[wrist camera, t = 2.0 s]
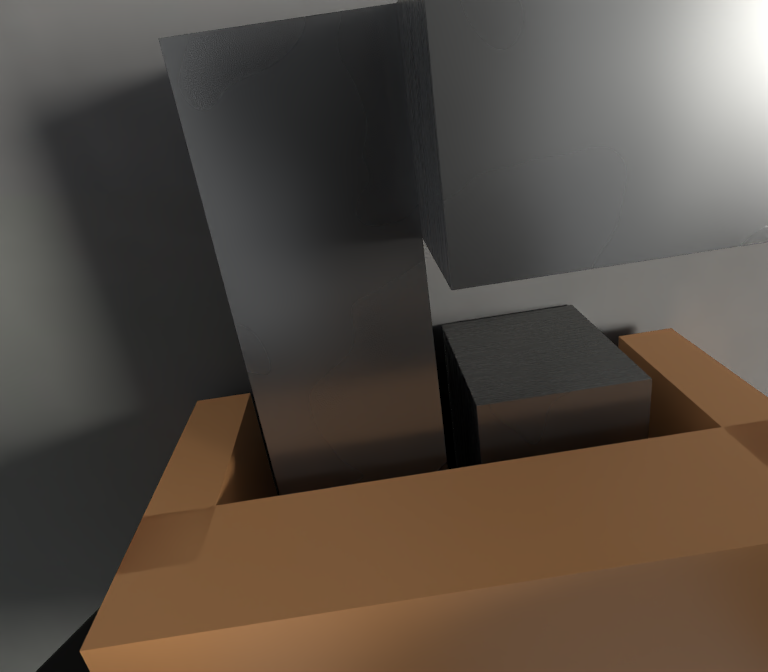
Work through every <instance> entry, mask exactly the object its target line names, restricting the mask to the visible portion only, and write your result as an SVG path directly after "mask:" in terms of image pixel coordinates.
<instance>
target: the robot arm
mask: <svg viewBox="0 0 768 672" xmlns="http://www.w3.org/2000/svg"><path fill="white" fill-rule="evenodd" d="M99 609H100V608H99ZM99 609H98V610H97V611H96V612H95V613H94V614H93V615H92V616H91V617H90V618H89V619H88V620H87V621H86V622H85V623H84V624H83V625H82V626H81V627H80V628H79V629H78V630H77V631H76V632H75V633H74V634H73V635H72V636H71V637H70V638H69V639H68V640H67V641H66V642H65V643H64V644H63V645H62V646H61V647H60V648H59V649H58V650H57V651H56V652H55V653H54V654H53V655H52V656H51V657H50V658H49V659H48V660H47V661H46V662H45V663H44V664H43V665H42V666H41V667H40V668H39V669H38V670H37V671H36V672H90V671H89V669H88V667H87V665H86V663H85V661H84V659H83V657H82V655H81V653H80V649H81V647H82V645H83V643H84V641H85V638H86V636H87V634H88V632H89V630H90V628H91V626H92V624H93V621H94V619H95V617H96V615H97V613H98V611H99Z"/></svg>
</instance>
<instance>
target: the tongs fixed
mask: <svg viewBox="0 0 768 672" xmlns="http://www.w3.org/2000/svg"><path fill="white" fill-rule="evenodd" d="M442 331H443V341H444V351H445V360H446V370H447V380H448V390H449V399H450V409H451V419H452V429H453V438H454V448H455V458H456V468H461V467H468V466H474V465H481V464H487V463H493V462H500V461H506V460H513V459H519V458H526V457H532V456H539V455H545V454H552V453H558V452H564V451H571V450H577V449H584V448H590V447H597V446H603V445H610V444H616V443H622V442H629V441H635V440H642V439H648V434H649V419H650V404H651V389H652V378H651V377H649V376H648V375H647V374H646V373H645V372H644V371H643V370H642V369H641V368H640V367H639V366H638V365H636V364H635V363H634V362H633V361H632V360H631V359H630V358H629V357H628V356H627V355H626V354H625V353H623V352H622V351H621V350H620V349H619V348H618V347H617V346H616V345H615V344H614V343H613V342H612V341H610V340H609V339H608V338H607V337H606V336H605V335H604V334H603V333H602V332H601V331H600V330H599V329H597V328H596V327H595V326H594V325H593V324H592V323H591V322H590V321H589V320H588V319H587V318H586V317H584V316H583V315H582V314H581V313H580V312H579V311H578V310H577V309H576V308H575V307H574V306H573V305H569V306H562V307H556V308H549V309H543V310H536V311H530V312H523V313H516V314H510V315H503V316H497V317H490V318H484V319H477V320H471V321H464V322H458V323H451V324H445V325H442Z"/></svg>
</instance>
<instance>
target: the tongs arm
mask: <svg viewBox="0 0 768 672" xmlns="http://www.w3.org/2000/svg"><path fill="white" fill-rule="evenodd" d="M158 39H159V42H160V46H161V50H162V54H163V57H164V61H165V65H166V69H167V72H168V76H169V80H170V84H171V87H172V91H173V95H174V99H175V102H176V106H177V110H178V114H179V117H180V121H181V125H182V129H183V133H184V136H185V140H186V144H187V148H188V151H189V155H190V159H191V163H192V166H193V170H194V174H195V178H196V181H197V185H198V189H199V193H200V196H201V200H202V204H203V208H204V211H205V215H206V219H207V223H208V226H209V230H210V234H211V238H212V242H213V245H214V249H215V253H216V257H217V260H218V264H219V268H220V272H221V275H222V279H223V283H224V287H225V290H226V294H227V298H228V302H229V305H230V309H231V313H232V317H233V320H234V324H235V328H236V332H237V335H238V339H239V343H240V347H241V351H242V354H243V358H244V362H245V366H246V369H247V373H248V377H249V381H250V384H251V388H252V392H253V396H254V399H255V403H256V407H257V411H258V414H259V418H260V422H261V426H262V429H263V433H264V437H265V441H266V444H267V448H268V452H269V456H270V460H271V463H272V467H273V471H274V475H275V478H276V482H277V486H278V490H279V493H280V496H281V495H287V494H293V493H300V492H306V491H313V490H319V489H326V488H332V487H339V486H345V485H352V484H358V483H364V482H371V481H377V480H384V479H390V478H397V477H403V476H410V475H416V474H423V473H429V472H435V471H442V470H448V466H447V457H446V448H445V439H444V430H443V421H442V412H441V402H440V393H439V384H438V375H437V366H436V357H435V348H434V339H433V330H432V321H431V312H430V303H429V294H428V285H427V275H426V266H425V257H424V248H423V240H424V241H425V243H426V245H427V247H428V249H429V250H430V252H431V254H432V256H433V258H434V259H435V261H436V263H437V265H438V267H439V268H440V270H441V272H442V274H443V276H444V277H445V279H446V281H447V283H448V285H449V286H450V288H451V290H456V289H463V288H469V287H476V286H482V285H489V284H495V283H502V282H509V281H515V280H522V279H528V278H535V277H541V276H548V275H555V274H561V273H568V272H574V271H581V270H587V269H594V268H600V267H607V266H614V265H620V264H627V263H633V262H640V261H646V260H653V259H659V258H666V257H673V256H679V255H686V254H692V253H699V252H705V251H712V250H719V249H725V248H732V247H738V246H745V245H751V244H758V243H764V242H768V0H398V1H397V3H394V4H387V5H380V6H373V7H367V8H360V9H353V10H346V11H340V12H333V13H326V14H320V15H313V16H306V17H299V18H293V19H286V20H279V21H272V22H266V23H259V24H252V25H245V26H239V27H232V28H225V29H218V30H212V31H205V32H198V33H191V34H185V35H178V36H171V37H164V38H158ZM422 238H423V239H422Z"/></svg>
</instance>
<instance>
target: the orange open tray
mask: <svg viewBox="0 0 768 672" xmlns="http://www.w3.org/2000/svg"><path fill="white" fill-rule="evenodd" d="M618 348H619V349H620V350H621V351H622V352H623V353H625V354H626V355H627V356H628V357H629V358H630V359H631V360H632V361H633V362H634V363H635V364H636V365H638V366H639V367H640V368H641V369H642V370H643V371H644V372H645V373H646V374H647V375H648V376H649V377H651V378H652V389H651V404H650V419H649V434H648V439H642V440H635V441H629V442H622V443H616V444H610V445H603V446H597V447H590V448H584V449H577V450H571V451H564V452H558V453H552V454H545V455H539V456H532V457H526V458H519V459H513V460H506V461H500V462H493V463H487V464H481V465H474V466H468V467H461V468H455V469H448V470H442V471H435V472H429V473H423V474H416V475H410V476H403V477H397V478H390V479H384V480H377V481H371V482H364V483H358V484H352V485H345V486H339V487H332V488H326V489H319V490H313V491H306V492H300V493H293V494H287V495H281V496H278V494H277V490H276V487H275V483H274V479H273V476H272V472H271V468H270V464H269V461H268V457H267V453H266V449H265V446H264V442H263V438H262V434H261V431H260V427H259V423H258V420H257V416H256V412H255V408H254V405H253V401H252V397H251V393H246V394H240V395H233V396H227V397H220V398H214V399H207V400H200V401H197V403H196V405H195V407H194V409H193V411H192V413H191V416H190V418H189V420H188V422H187V424H186V426H185V428H184V430H183V433H182V435H181V437H180V439H179V441H178V443H177V445H176V447H175V450H174V452H173V454H172V456H171V458H170V460H169V462H168V464H167V467H166V469H165V471H164V473H163V475H162V477H161V479H160V481H159V484H158V486H157V488H156V490H155V492H154V494H153V496H152V498H151V501H150V503H149V505H148V507H147V509H146V511H145V513H144V515H143V517H142V520H141V522H140V524H139V526H138V528H137V530H136V532H135V534H134V537H133V539H132V541H131V543H130V545H129V547H128V549H127V551H126V554H125V556H124V558H123V560H122V562H121V564H120V566H119V568H118V571H117V573H116V575H115V577H114V579H113V581H112V583H111V585H110V588H109V590H108V592H107V594H106V596H105V598H104V600H103V602H102V605H101V607H100V609H99V611H98V613H97V615H96V617H95V619H94V621H93V624H92V626H91V628H90V630H89V632H88V634H87V636H86V638H85V641H84V643H83V645H82V647H81V649H80V653H81V655H82V657H83V659H84V661H85V663H86V665H87V667H88V669H89V671H90V672H768V397H766V396H765V395H764V394H762V393H761V392H759V391H758V390H757V389H755V388H754V387H753V386H751V385H750V384H748V383H747V382H746V381H744V380H743V379H741V378H740V377H739V376H737V375H736V374H734V373H733V372H732V371H730V370H729V369H727V368H726V367H725V366H723V365H722V364H720V363H719V362H718V361H716V360H715V359H713V358H712V357H711V356H709V355H708V354H706V353H705V352H704V351H702V350H701V349H699V348H698V347H697V346H695V345H694V344H692V343H691V342H690V341H688V340H687V339H685V338H684V337H683V336H681V335H680V334H678V333H677V332H676V331H674V330H673V329H671V328H670V329H663V330H657V331H650V332H644V333H637V334H631V335H624V336H619V344H618Z"/></svg>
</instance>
